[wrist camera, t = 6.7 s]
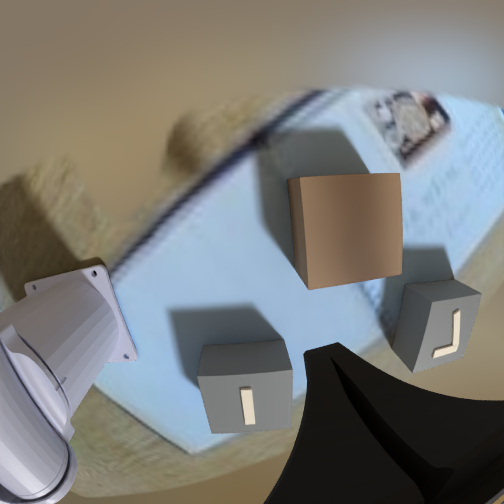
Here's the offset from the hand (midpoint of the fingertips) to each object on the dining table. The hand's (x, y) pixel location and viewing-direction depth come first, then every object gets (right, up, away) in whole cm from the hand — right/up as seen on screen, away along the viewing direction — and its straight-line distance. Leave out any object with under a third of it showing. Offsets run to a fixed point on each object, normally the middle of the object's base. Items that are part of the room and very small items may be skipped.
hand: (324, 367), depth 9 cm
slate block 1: (-3, -5, +11) cm, 13 cm away
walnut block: (+3, +6, +9) cm, 11 cm away
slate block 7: (+12, -1, +11) cm, 17 cm away
